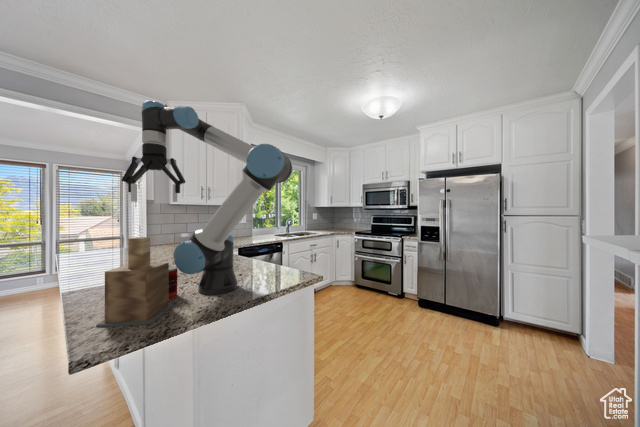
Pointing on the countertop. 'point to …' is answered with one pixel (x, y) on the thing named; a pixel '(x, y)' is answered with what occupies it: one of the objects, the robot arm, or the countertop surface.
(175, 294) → the canned food
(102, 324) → the mat
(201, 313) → the countertop surface
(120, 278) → the wooden stepped block
